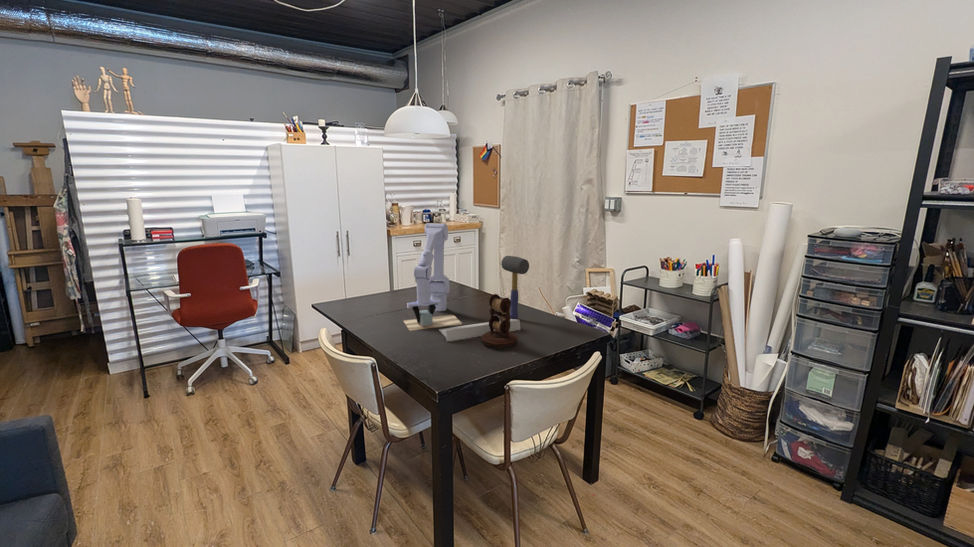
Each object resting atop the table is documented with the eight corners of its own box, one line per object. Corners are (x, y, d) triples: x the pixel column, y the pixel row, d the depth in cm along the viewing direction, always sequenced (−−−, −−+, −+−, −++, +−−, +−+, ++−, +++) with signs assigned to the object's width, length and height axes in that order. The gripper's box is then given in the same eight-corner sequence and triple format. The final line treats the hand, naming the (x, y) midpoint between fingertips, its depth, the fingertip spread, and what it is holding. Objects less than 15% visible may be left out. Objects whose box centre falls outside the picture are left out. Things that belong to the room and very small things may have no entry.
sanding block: (417, 321, 205) (416, 310, 204) (426, 320, 207) (426, 309, 206) (422, 327, 198) (422, 316, 197) (432, 325, 200) (432, 314, 199)
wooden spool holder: (525, 344, 184) (526, 296, 179) (497, 353, 175) (497, 303, 170) (501, 334, 195) (501, 289, 190) (473, 342, 186) (473, 294, 181)
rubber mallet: (499, 317, 216) (500, 255, 209) (510, 314, 221) (511, 253, 214) (517, 324, 207) (519, 259, 200) (529, 320, 212) (530, 257, 205)
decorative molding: (439, 340, 195) (447, 342, 186) (438, 329, 195) (446, 330, 186) (510, 329, 209) (520, 330, 200) (509, 319, 209) (519, 319, 200)
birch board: (403, 323, 207) (403, 320, 207) (453, 317, 215) (453, 314, 215) (409, 333, 194) (409, 330, 194) (462, 327, 203) (462, 324, 202)
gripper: (408, 296, 194) (409, 326, 197) (441, 293, 199) (442, 322, 202) (405, 292, 200) (406, 321, 203) (437, 289, 205) (438, 317, 208)
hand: (424, 321), depth 203 cm, fingers closed on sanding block, 5 cm apart
